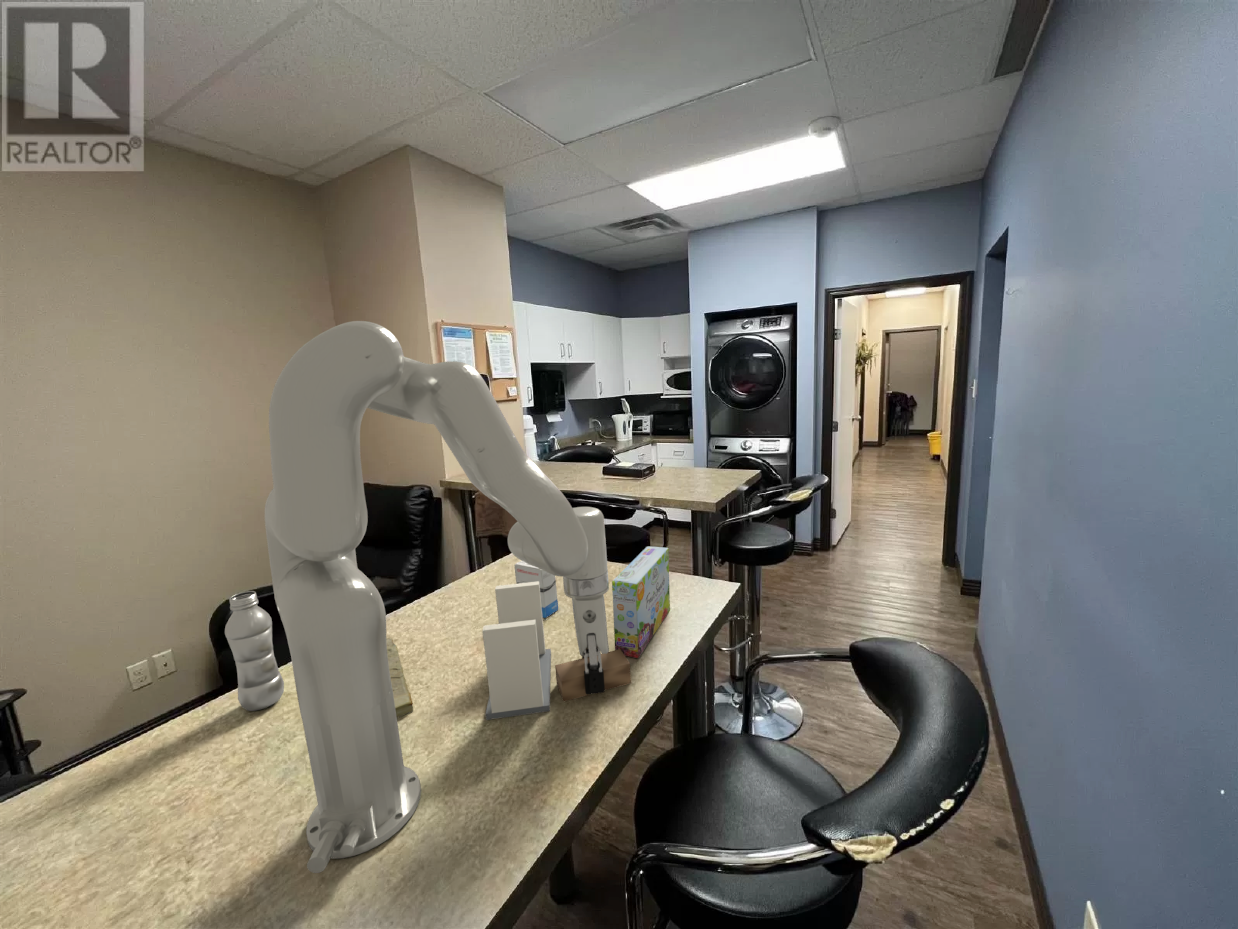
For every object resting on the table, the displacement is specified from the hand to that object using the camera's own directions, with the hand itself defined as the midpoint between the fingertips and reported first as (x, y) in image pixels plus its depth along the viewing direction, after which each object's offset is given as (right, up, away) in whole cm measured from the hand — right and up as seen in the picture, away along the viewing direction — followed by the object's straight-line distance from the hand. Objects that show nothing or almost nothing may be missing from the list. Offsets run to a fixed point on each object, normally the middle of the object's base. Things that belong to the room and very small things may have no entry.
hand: (593, 678), depth 83 cm
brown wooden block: (0, -1, 0) cm, 1 cm away
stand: (-13, -2, +2) cm, 13 cm away
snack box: (+10, +2, +17) cm, 20 cm away
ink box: (-14, +3, +29) cm, 33 cm away
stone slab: (-42, -3, +5) cm, 42 cm away
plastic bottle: (-57, -5, 0) cm, 57 cm away
